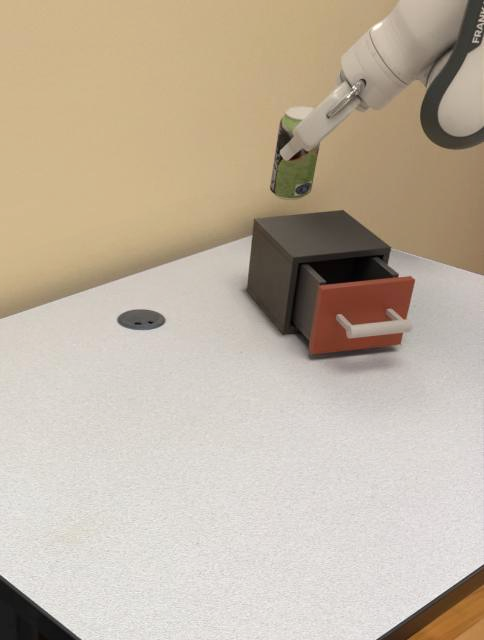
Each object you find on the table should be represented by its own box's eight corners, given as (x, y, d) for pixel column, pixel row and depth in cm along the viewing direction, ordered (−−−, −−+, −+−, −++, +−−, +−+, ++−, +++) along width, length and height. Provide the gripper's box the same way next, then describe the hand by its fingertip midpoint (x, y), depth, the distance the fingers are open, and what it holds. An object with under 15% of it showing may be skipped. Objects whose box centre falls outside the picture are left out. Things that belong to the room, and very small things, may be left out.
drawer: (419, 362, 102) (436, 296, 97) (327, 373, 101) (339, 306, 96) (354, 301, 116) (366, 240, 111) (273, 309, 115) (281, 248, 110)
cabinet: (375, 324, 113) (391, 247, 106) (282, 334, 112) (293, 257, 105) (331, 281, 124) (343, 209, 117) (246, 290, 123) (253, 218, 117)
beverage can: (298, 188, 137) (308, 100, 129) (322, 201, 131) (335, 109, 124) (260, 194, 136) (269, 105, 128) (283, 207, 130) (294, 115, 122)
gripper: (370, 111, 112) (284, 188, 123) (399, 77, 126) (319, 148, 136) (339, 70, 111) (255, 151, 121) (372, 40, 125) (293, 115, 135)
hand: (289, 149), depth 129 cm, fingers closed on beverage can, 5 cm apart
